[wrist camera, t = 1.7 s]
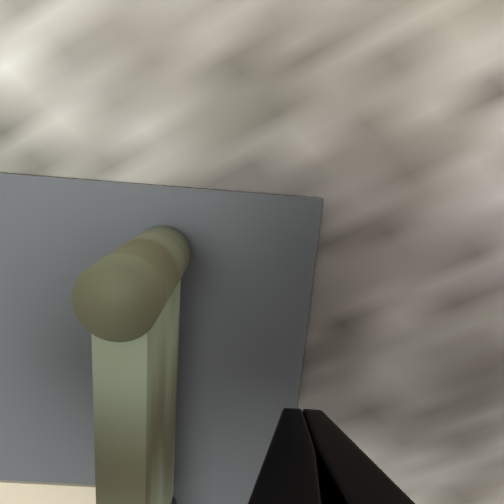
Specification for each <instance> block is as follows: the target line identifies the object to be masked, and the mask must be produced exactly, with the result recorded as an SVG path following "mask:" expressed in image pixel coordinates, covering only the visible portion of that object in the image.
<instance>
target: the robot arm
mask: <svg viewBox="0 0 504 504" xmlns="http://www.w3.org/2000/svg"><path fill="white" fill-rule="evenodd" d="M248 504H415V503H414V502H413V501H412V500H411V499H410V498H409V497H408V496H407V495H406V494H405V493H404V492H403V491H402V490H401V489H400V488H399V487H398V486H397V485H396V484H395V483H394V482H393V481H392V480H391V479H390V478H389V477H388V476H387V475H386V474H385V473H384V472H383V471H382V470H381V469H380V468H379V467H378V466H377V465H376V464H375V463H374V462H373V461H372V460H371V459H370V458H369V457H368V456H367V455H366V454H365V453H364V452H363V451H362V450H361V449H360V448H359V447H358V446H357V445H356V444H355V443H354V442H353V441H352V440H351V439H350V438H349V437H348V436H347V435H346V434H345V433H344V432H343V431H342V430H341V429H340V428H339V427H338V426H337V425H336V424H335V423H334V422H333V421H332V420H331V419H330V418H329V417H328V416H327V415H326V414H325V413H324V412H322V411H321V410H312V409H304V410H303V411H302V410H301V409H295V408H284V409H283V410H282V413H281V416H280V418H279V421H278V424H277V426H276V429H275V432H274V435H273V437H272V440H271V443H270V445H269V448H268V451H267V453H266V456H265V459H264V461H263V464H262V467H261V470H260V472H259V475H258V478H257V480H256V483H255V486H254V488H253V491H252V494H251V496H250V499H249V502H248Z"/></svg>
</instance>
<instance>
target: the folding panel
mask: <svg viewBox="0 0 504 504" xmlns="http://www.w3.org/2000/svg"><path fill="white" fill-rule="evenodd" d="M190 260H191V250H190V246H189V244H188V241H187V240H186V238H185V237H184V236H183V235H182V234H181V233H180V232H179V231H177V230H175V229H173V228H171V227H167V226H155V227H152V228H149V229H147V230H146V231H144V232H143V233H141V234H139V235H138V236H136V237H135V238H133V239H131V240H130V241H128V242H127V243H125V244H124V245H122V246H120V247H119V248H117V249H116V250H114V251H112V252H111V253H109V254H108V255H106V256H105V257H103V258H101V259H100V260H98V261H97V262H95V263H93V264H92V265H90V266H89V267H87V268H86V269H85V270H83V272H82V273H81V274H80V275H79V276H78V278H77V279H76V281H75V283H74V286H73V289H72V297H71V300H72V307H73V310H74V313H75V315H76V317H77V319H78V321H79V322H80V323H81V325H82V326H83V327H84V328H85V329H86V330H87V331H89V332H90V333H91V336H92V374H93V412H94V450H95V488H96V504H171V502H172V497H173V485H174V457H175V428H176V400H177V371H178V343H179V314H180V285H181V278H182V276H183V274H184V273H185V271H186V269H187V268H188V266H189V263H190Z"/></svg>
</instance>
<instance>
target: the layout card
mask: <svg viewBox="0 0 504 504" xmlns="http://www.w3.org/2000/svg"><path fill="white" fill-rule="evenodd" d="M322 206H323V199H322V198H316V197H303V196H291V195H278V194H265V193H253V192H240V191H228V190H215V189H203V188H190V187H177V186H165V185H152V184H140V183H127V182H114V181H102V180H89V179H77V178H64V177H52V176H39V175H26V174H14V173H1V172H0V504H96V488H95V450H94V412H93V374H92V336H91V333H90V332H89V331H87V330H86V329H85V328H84V327H83V326H82V325H81V323H80V322H79V321H78V319H77V317H76V315H75V313H74V310H73V307H72V300H71V297H72V289H73V286H74V283H75V281H76V279H77V278H78V276H79V275H80V274H81V273H82V272H83V270H85V269H86V268H87V267H89V266H90V265H92V264H93V263H95V262H97V261H98V260H100V259H101V258H103V257H105V256H106V255H108V254H109V253H111V252H112V251H114V250H116V249H117V248H119V247H120V246H122V245H124V244H125V243H127V242H128V241H130V240H131V239H133V238H135V237H136V236H138V235H139V234H141V233H143V232H144V231H146V230H147V229H149V228H152V227H155V226H167V227H171V228H173V229H175V230H177V231H179V232H180V233H181V234H182V235H183V236H184V237H185V238H186V240H187V241H188V244H189V246H190V250H191V260H190V263H189V266H188V268H187V269H186V271H185V273H184V274H183V276H182V278H181V285H180V314H179V343H178V371H177V400H176V428H175V457H174V485H173V497H174V498H175V500H176V502H177V504H248V502H249V499H250V496H251V494H252V491H253V488H254V486H255V483H256V480H257V478H258V475H259V472H260V470H261V467H262V464H263V461H264V459H265V456H266V453H267V451H268V448H269V445H270V443H271V440H272V437H273V435H274V432H275V429H276V426H277V424H278V421H279V418H280V416H281V413H282V410H283V409H284V408H295V409H297V406H298V398H299V390H300V382H301V374H302V366H303V358H304V350H305V342H306V334H307V326H308V318H309V310H310V302H311V294H312V286H313V278H314V270H315V262H316V254H317V246H318V238H319V230H320V222H321V214H322Z"/></svg>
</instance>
